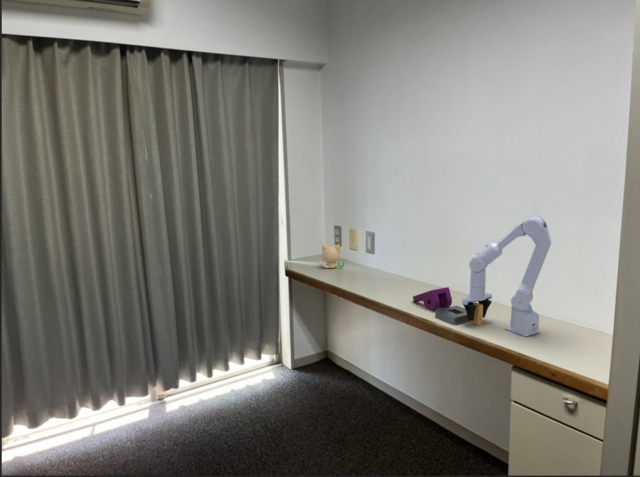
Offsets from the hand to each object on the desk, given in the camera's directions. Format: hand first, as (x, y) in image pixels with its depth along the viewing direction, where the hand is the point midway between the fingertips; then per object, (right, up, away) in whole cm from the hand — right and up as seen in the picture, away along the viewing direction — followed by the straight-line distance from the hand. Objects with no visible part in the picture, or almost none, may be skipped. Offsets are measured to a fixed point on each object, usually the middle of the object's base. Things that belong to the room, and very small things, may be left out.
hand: (476, 318), depth 188 cm
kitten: (-55, +14, +98) cm, 114 cm away
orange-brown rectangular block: (0, -2, 0) cm, 2 cm away
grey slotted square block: (-7, -1, +6) cm, 9 cm away
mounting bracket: (-13, +2, +24) cm, 28 cm away
